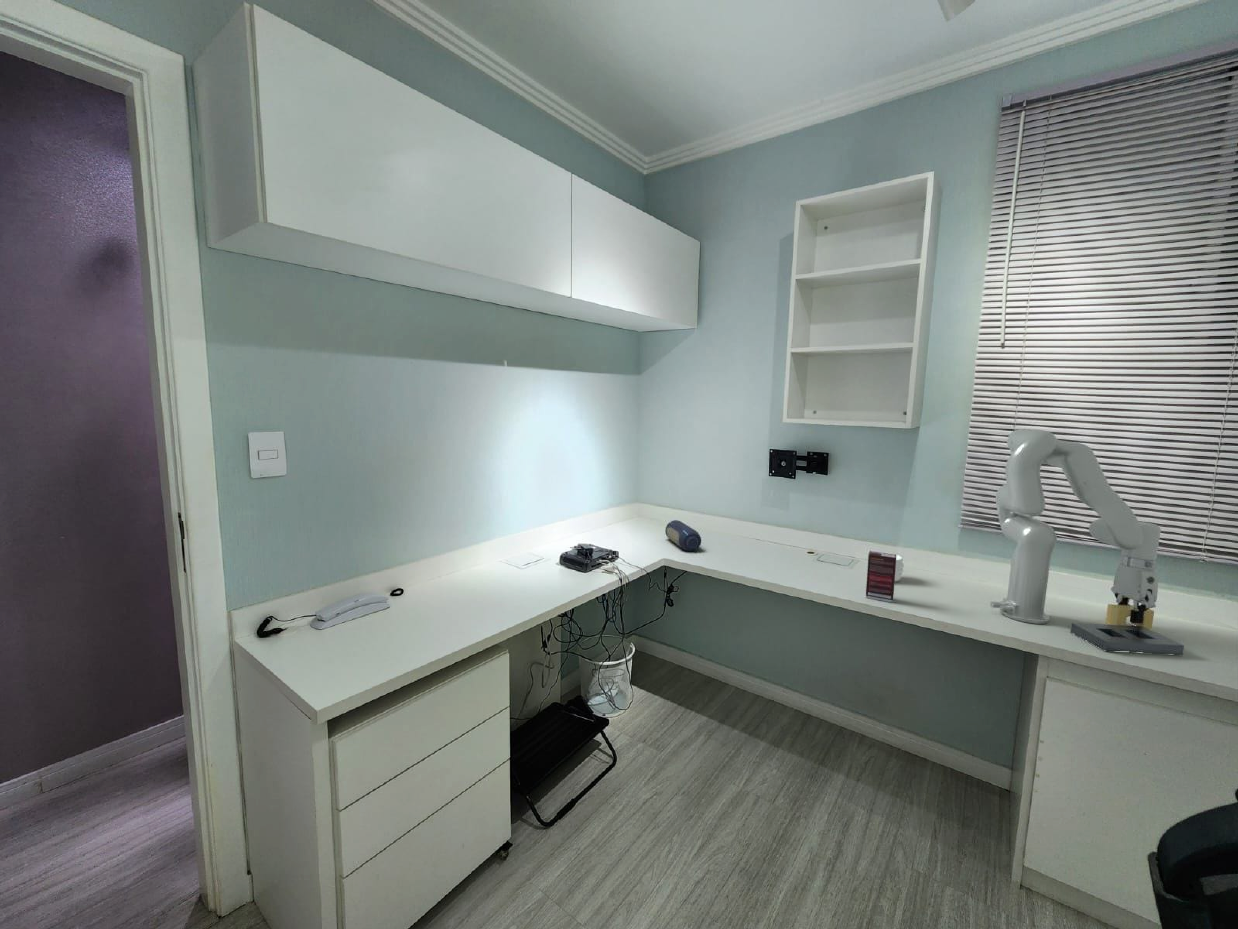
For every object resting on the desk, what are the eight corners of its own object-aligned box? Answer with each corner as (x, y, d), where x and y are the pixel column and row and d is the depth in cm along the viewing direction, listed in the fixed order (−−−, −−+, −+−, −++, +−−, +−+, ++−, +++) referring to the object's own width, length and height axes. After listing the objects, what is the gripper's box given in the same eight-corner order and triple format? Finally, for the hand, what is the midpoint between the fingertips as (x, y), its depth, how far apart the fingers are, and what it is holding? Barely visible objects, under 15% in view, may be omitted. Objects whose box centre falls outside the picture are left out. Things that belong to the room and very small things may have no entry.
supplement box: (893, 598, 179) (897, 554, 177) (892, 603, 175) (896, 557, 173) (865, 593, 183) (869, 550, 181) (864, 597, 179) (868, 553, 177)
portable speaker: (662, 538, 250) (663, 518, 249) (681, 537, 253) (682, 518, 251) (682, 554, 226) (683, 531, 225) (703, 552, 229) (704, 530, 227)
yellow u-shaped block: (1116, 628, 158) (1119, 609, 157) (1105, 622, 162) (1107, 604, 161) (1151, 629, 157) (1154, 611, 157) (1139, 624, 161) (1142, 605, 161)
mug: (899, 587, 190) (902, 563, 189) (869, 581, 196) (871, 558, 195) (903, 578, 200) (905, 555, 199) (874, 573, 206) (876, 550, 204)
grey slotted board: (1104, 651, 143) (1106, 641, 142) (1070, 632, 154) (1071, 622, 154) (1182, 656, 141) (1184, 645, 141) (1141, 636, 153) (1143, 626, 153)
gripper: (1178, 572, 149) (1168, 632, 151) (1126, 554, 165) (1118, 609, 167) (1150, 570, 149) (1140, 630, 151) (1101, 553, 166) (1093, 608, 168)
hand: (1129, 619), depth 159 cm, fingers closed on yellow u-shaped block, 4 cm apart
